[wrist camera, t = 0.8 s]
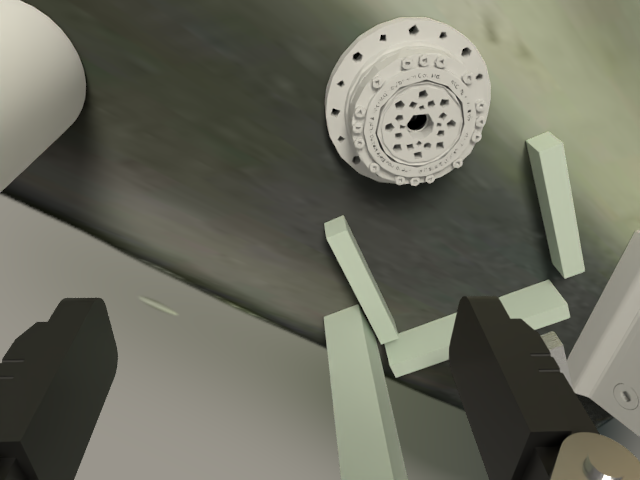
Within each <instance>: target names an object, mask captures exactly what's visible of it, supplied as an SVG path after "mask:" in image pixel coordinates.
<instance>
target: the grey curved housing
mask: <svg viewBox="0 0 640 480" xmlns="http://www.w3.org/2000/svg"><path fill="white" fill-rule="evenodd" d="M567 365H568V369H569V374H570V378H571V382H572V389H573V391H574V392H575V393H576V394H580V395H583V396H586V397H588V398H590V399H592V400H593V401H594V402H595V403H597V404H598V405H599V406H601V407H602V408H603V409H604V410H606V411H607V412H608V413H609V414H611V415H612V416H613V417H615V418H616V419H617V420H618V421H620V422H621V423H622V424H624V425H625V426H626V427H627V428H629V429H630V430H631V431H633V432H634V433H635V434H636V435H638V436H639V437H640V230H636V231H635V232H634V234H633V236H632V238H631V240H630V242H629V244H628V245H627V247H626V249H625V251H624V253H623V255H622V257H621V259H620V261H619V262H618V264H617V266H616V268H615V270H614V272H613V274H612V276H611V278H610V279H609V281H608V283H607V285H606V287H605V289H604V291H603V293H602V295H601V296H600V298H599V300H598V302H597V304H596V306H595V308H594V310H593V312H592V314H591V315H590V317H589V319H588V321H587V323H586V325H585V327H584V329H583V331H582V332H581V334H580V336H579V338H578V340H577V342H576V344H575V346H574V348H573V349H572V351H571V353H570V355H569V357H568V359H567Z"/></svg>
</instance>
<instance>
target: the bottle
mask: <svg viewBox="0 0 640 480" xmlns="http://www.w3.org/2000/svg"><path fill="white" fill-rule="evenodd" d="M85 96H86V80H85V74H84V68H83V66H82V63H81V60H80V58H79V55H78V53H77V51H76V50H75V48H74V46H73V44H72V43H71V41H70V40H69V38H68V37H67V36H66V35H65V33H64V32H63V31H62V30H61V28H60V27H59V26H57V25H56V24H55V23H54V22H53V21H52V20H51V19H50V18H49V17H48V16H46V15H45V14H43V13H42V12H40V11H39V10H37V9H36V8H34V7H33V6H31V5H29V4H26V3H24V2H22V1H20V0H0V193H1V192H2V191H3V190H4V189H5V188H6V187H7V186H8V185H9V184H10V183H11V182H12V181H13V180H14V179H15V178H16V177H17V176H19V175H20V174H21V173H22V172H23V171H24V170H25V169H26V168H27V167H28V166H29V165H30V164H31V163H32V162H33V161H34V160H35V159H36V158H38V157H39V156H40V155H41V154H42V153H43V152H44V151H45V150H46V149H47V148H48V147H49V146H50V145H51V144H52V143H53V142H54V141H56V140H57V139H58V138H59V137H60V136H61V135H62V134H63V133H64V132H65V131H66V130H67V129H68V128H69V127H70V126H71V125H72V124H73V123H74V122H75V120H76V119H77V118H78V116H79V114H80V112H81V110H82V108H83V104H84V101H85Z"/></svg>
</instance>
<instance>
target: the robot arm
mask: <svg viewBox="0 0 640 480" xmlns="http://www.w3.org/2000/svg"><path fill="white" fill-rule="evenodd" d="M117 360H118V353H117V347H116V343H115V339H114V335H113V331H112V328H111V324H110V320H109V316H108V313H107V309H106V305H105V303H104V301H103V300H102V299H101V298H65V299H63V300H62V301H61V302H60V303H59V304H58V306H57V308H56V309H55V311H54V313H53V314H52V316H51V317H50V319H49V321H48V322H37V323H35V324H34V325H33V326H32V327H30V328H29V329H28V330H27V331H25V332H24V333H23V334H22V335H20V336H19V337H18V338H17V339H15V341H14V343H13V344H12V345H11V347H10V348H9V350H8V351H7V353H6V354H5V356H4V357H3V359H2V363H0V480H74V478H75V476H76V473H77V471H78V468H79V465H80V463H81V460H82V458H83V455H84V453H85V450H86V448H87V445H88V442H89V440H90V438H91V435H92V433H93V430H94V427H95V425H96V422H97V420H98V417H99V415H100V412H101V410H102V407H103V405H104V402H105V399H106V397H107V395H108V392H109V389H110V387H111V384H112V382H113V379H114V377H115V373H116V369H117ZM449 363H450V369H451V372H452V375H453V378H454V381H455V384H456V387H457V389H458V392H459V395H460V398H461V401H462V404H463V406H464V409H465V412H466V415H467V418H468V421H469V423H470V426H471V429H472V432H473V435H474V437H475V440H476V443H477V446H478V449H479V452H480V454H481V457H482V460H483V463H484V466H485V468H486V471H487V474H488V477H489V480H640V461H639V460H638V459H637V458H636V457H635V456H634V455H633V454H632V453H631V452H630V451H629V450H628V449H626V448H625V447H624V446H622V445H621V444H619V443H617V442H616V441H614V440H612V439H610V438H608V437H605V436H603V435H600V434H599V432H598V431H597V429H596V427H595V426H594V424H593V422H592V421H591V419H590V417H589V416H588V414H587V412H586V411H585V409H584V407H583V406H582V404H581V402H580V401H579V399H578V397H577V396H576V394H575V392H574V391H573V389H572V387H571V386H570V384H569V382H568V381H567V379H566V377H565V376H564V374H563V373H561V372H560V367H559V366H558V364H557V362H556V361H555V359H554V357H551V353H550V351H549V349H548V348H547V346H546V344H545V343H544V341H543V339H542V338H541V336H540V334H539V333H537V332H536V331H535V330H534V329H533V328H532V327H530V326H529V325H528V324H527V323H526V322H525V321H523V320H522V319H521V318H514V319H510V317H509V315H508V313H507V311H506V310H505V308H504V306H503V304H502V302H501V301H500V299H499V298H498V297H496V296H464V297H462V298H461V300H460V302H459V306H458V310H457V314H456V319H455V323H454V327H453V332H452V336H451V340H450V345H449Z"/></svg>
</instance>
